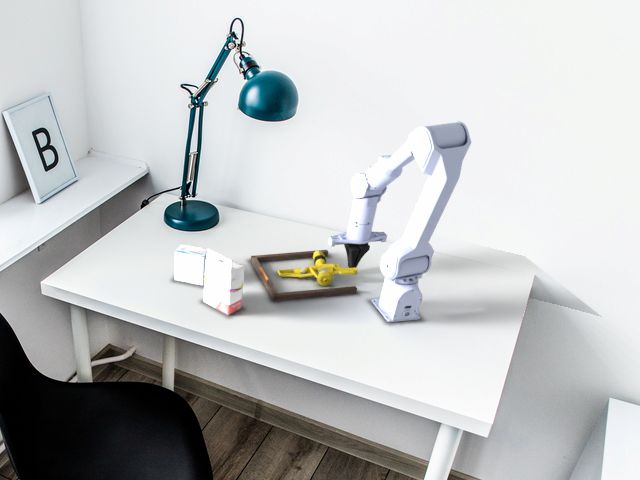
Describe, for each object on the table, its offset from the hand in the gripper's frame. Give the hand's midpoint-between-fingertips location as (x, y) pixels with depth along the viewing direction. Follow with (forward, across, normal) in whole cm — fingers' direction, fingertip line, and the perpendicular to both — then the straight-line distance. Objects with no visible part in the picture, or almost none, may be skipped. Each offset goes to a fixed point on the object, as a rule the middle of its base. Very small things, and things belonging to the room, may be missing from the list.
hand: (351, 267), depth 169 cm
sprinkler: (+2, +9, -1) cm, 9 cm away
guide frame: (+1, +13, 0) cm, 13 cm away
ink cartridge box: (+2, +37, +10) cm, 38 cm away
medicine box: (+2, +42, -3) cm, 42 cm away
